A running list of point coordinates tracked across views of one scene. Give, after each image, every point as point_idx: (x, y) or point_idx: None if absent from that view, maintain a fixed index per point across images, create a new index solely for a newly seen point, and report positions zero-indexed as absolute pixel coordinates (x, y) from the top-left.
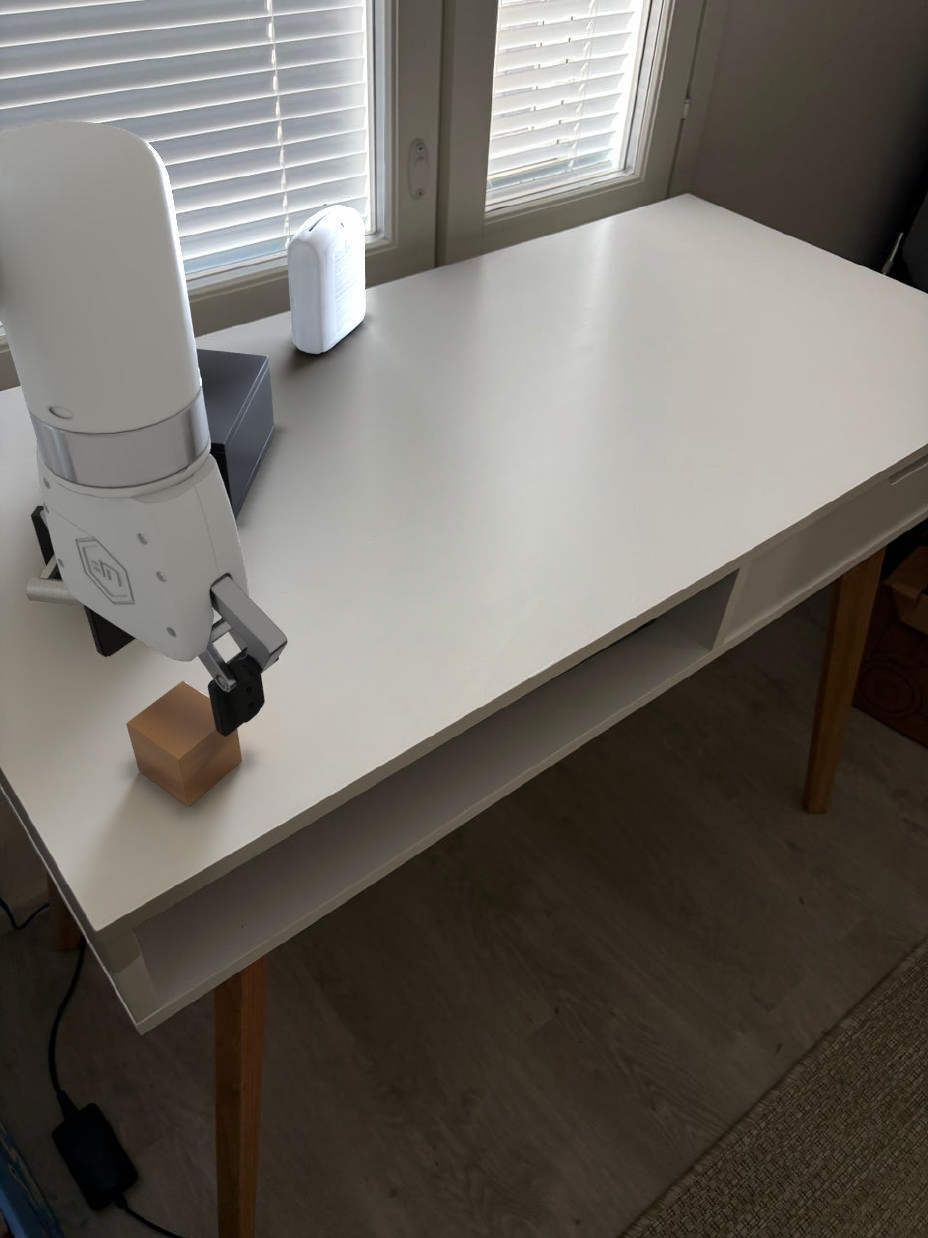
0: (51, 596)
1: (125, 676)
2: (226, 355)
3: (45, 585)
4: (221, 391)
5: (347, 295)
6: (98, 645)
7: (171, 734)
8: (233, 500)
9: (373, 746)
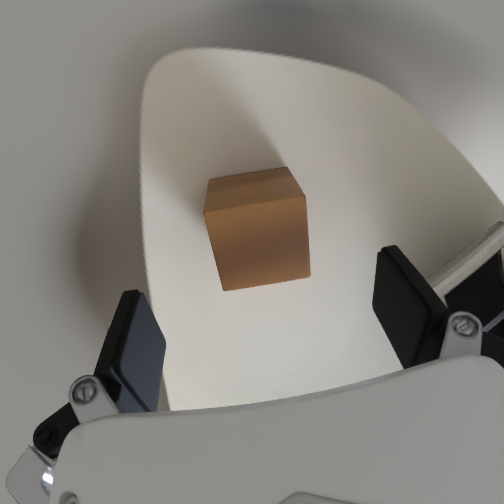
0: (488, 238)
1: (391, 223)
2: None
3: (498, 243)
4: None
5: None
6: (397, 257)
7: (247, 226)
8: None
9: (168, 324)
